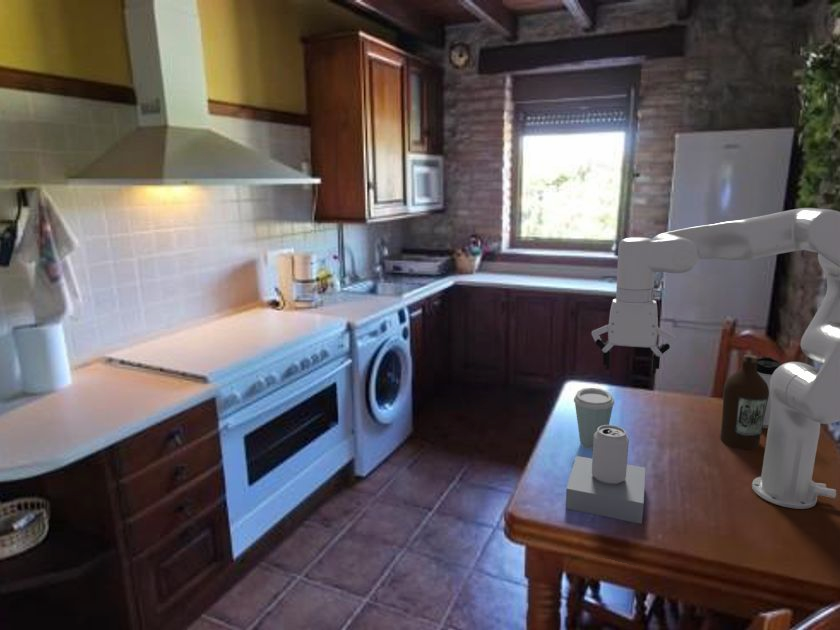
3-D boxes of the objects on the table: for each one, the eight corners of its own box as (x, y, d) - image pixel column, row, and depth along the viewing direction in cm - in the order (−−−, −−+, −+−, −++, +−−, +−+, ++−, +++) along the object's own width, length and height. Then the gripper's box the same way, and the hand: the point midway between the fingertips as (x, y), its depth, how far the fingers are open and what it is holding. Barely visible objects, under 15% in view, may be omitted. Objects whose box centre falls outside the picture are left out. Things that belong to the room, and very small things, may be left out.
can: (599, 466, 132) (601, 420, 129) (630, 476, 127) (634, 428, 125) (586, 479, 126) (588, 431, 124) (618, 490, 122) (622, 440, 119)
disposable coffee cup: (614, 454, 148) (618, 402, 144) (573, 451, 150) (575, 400, 146) (608, 436, 158) (611, 387, 154) (569, 434, 160) (572, 385, 156)
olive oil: (711, 432, 159) (720, 350, 153) (749, 433, 158) (760, 350, 152) (728, 450, 149) (739, 362, 143) (769, 451, 148) (782, 362, 142)
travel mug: (771, 422, 165) (781, 358, 161) (771, 430, 160) (781, 365, 155) (747, 417, 169) (756, 355, 164) (746, 425, 163) (755, 361, 158)
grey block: (643, 486, 132) (645, 467, 131) (641, 524, 118) (643, 503, 117) (575, 474, 138) (576, 455, 137) (565, 508, 124) (566, 488, 123)
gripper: (677, 293, 120) (671, 367, 124) (594, 290, 126) (591, 361, 130) (679, 300, 113) (673, 379, 117) (591, 297, 120) (588, 371, 124)
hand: (630, 369), depth 124 cm, fingers open, 9 cm apart
